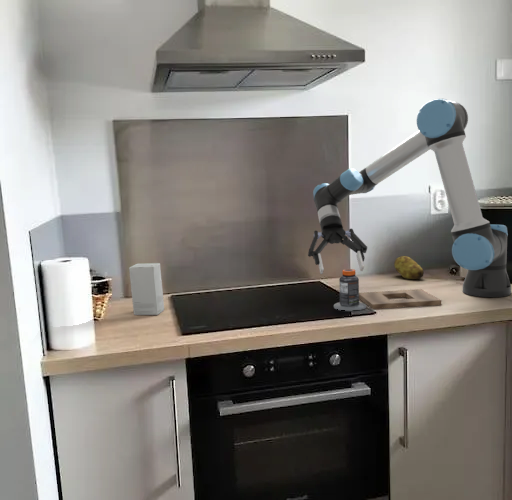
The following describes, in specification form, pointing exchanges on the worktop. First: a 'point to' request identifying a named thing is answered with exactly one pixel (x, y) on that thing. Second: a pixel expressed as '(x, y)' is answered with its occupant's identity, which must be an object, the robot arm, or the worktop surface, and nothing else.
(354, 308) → the coaster
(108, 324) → the worktop surface
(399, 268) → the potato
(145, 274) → the skincare box
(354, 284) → the pill bottle
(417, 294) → the pocket board
